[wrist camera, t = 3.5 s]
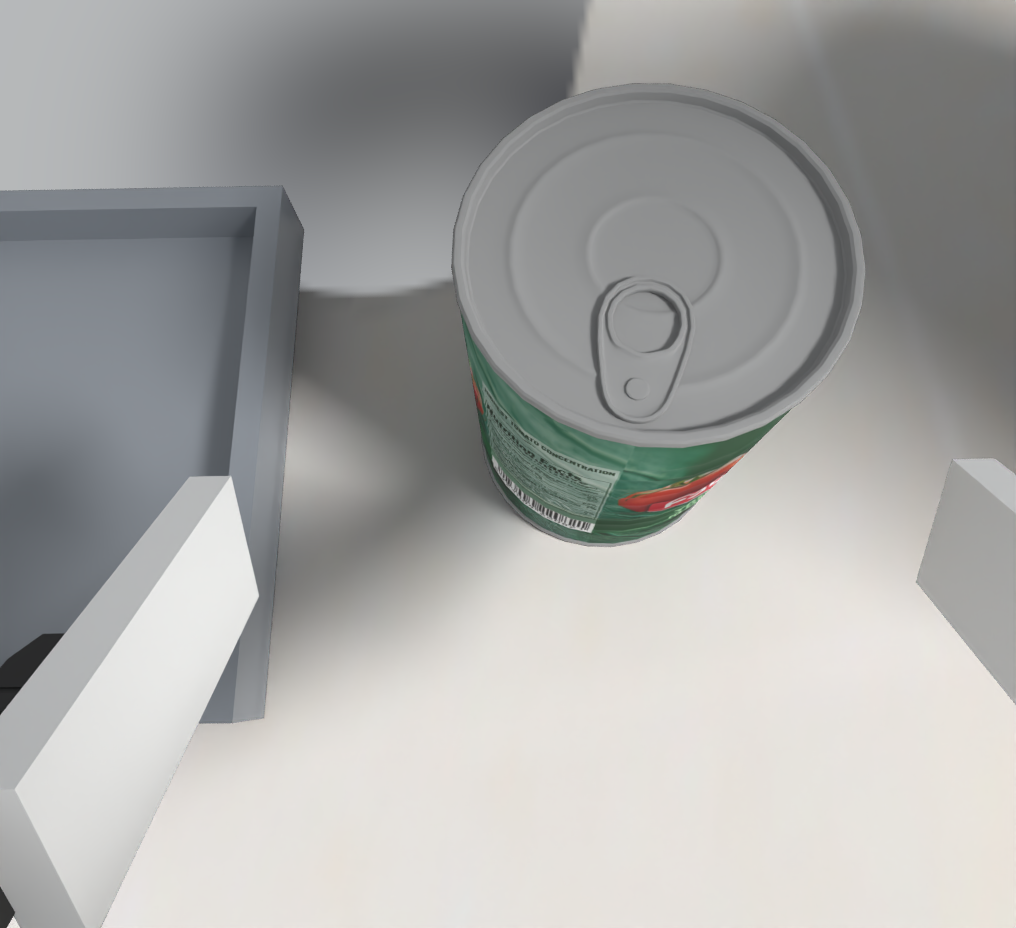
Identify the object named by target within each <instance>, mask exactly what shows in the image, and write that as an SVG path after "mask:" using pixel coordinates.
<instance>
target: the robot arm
mask: <svg viewBox="0 0 1016 928" xmlns="http://www.w3.org/2000/svg"><path fill="white" fill-rule="evenodd" d="M916 583H917V584H918V585H919V586H920V587H921V589H922V590H923V591H924V592H925V594H926V595H927V596H928V597H929V599H930V600H931V601H932V602H933V604H934V605H935V606H936V607H937V608H938V610H939V611H940V612H941V613H942V615H943V616H944V617H945V618H946V620H947V621H948V622H949V623H950V624H951V626H952V627H953V628H954V629H955V631H956V632H957V633H958V634H959V636H960V637H961V638H962V639H963V640H964V642H965V643H966V644H967V645H968V647H969V648H970V649H971V650H972V652H973V653H974V654H975V655H976V656H977V658H978V659H979V660H980V661H981V663H982V664H983V665H984V666H985V668H986V669H987V670H988V671H989V672H990V674H991V675H992V676H993V677H994V679H995V680H996V681H997V682H998V684H999V685H1000V686H1001V687H1002V688H1003V690H1004V691H1005V692H1006V693H1007V695H1008V696H1009V697H1010V698H1011V700H1012V701H1013V702H1014V703H1015V705H1016V474H1014V473H1013V472H1012V471H1010V470H1009V469H1008V468H1007V467H1005V466H1004V465H1003V464H1001V463H1000V462H999V461H998V460H996V459H995V458H984V459H952V462H951V465H950V468H949V472H948V475H947V479H946V482H945V485H944V489H943V492H942V495H941V499H940V502H939V506H938V509H937V512H936V516H935V519H934V523H933V526H932V529H931V533H930V536H929V539H928V543H927V546H926V550H925V553H924V556H923V560H922V563H921V566H920V570H919V573H918V577H917V580H916ZM258 597H259V593H258V589H257V585H256V580H255V576H254V572H253V567H252V563H251V559H250V554H249V550H248V546H247V542H246V537H245V533H244V529H243V524H242V520H241V516H240V512H239V507H238V503H237V499H236V494H235V490H234V486H233V481H232V477H231V476H198V477H189V478H188V479H187V480H186V482H185V483H184V484H183V486H182V487H181V488H180V489H179V491H178V492H177V493H176V494H175V496H174V497H173V498H172V499H171V501H170V502H169V503H168V504H167V506H166V507H165V508H164V509H163V511H162V512H161V513H160V515H159V516H158V517H157V518H156V520H155V521H154V522H153V523H152V525H151V526H150V527H149V528H148V530H147V531H146V532H145V533H144V535H143V536H142V537H141V538H140V540H139V541H138V542H137V544H136V545H135V546H134V547H133V549H132V550H131V551H130V552H129V554H128V555H127V556H126V557H125V559H124V560H123V561H122V562H121V564H120V565H119V566H118V567H117V569H116V570H115V571H114V572H113V574H112V575H111V576H110V578H109V579H108V580H107V581H106V583H105V584H104V585H103V586H102V588H101V589H100V590H99V591H98V593H97V594H96V595H95V596H94V598H93V599H92V600H91V601H90V603H89V604H88V605H87V607H86V608H85V609H84V610H83V612H82V613H81V614H80V615H79V617H78V618H77V619H76V620H75V622H74V623H73V624H72V625H71V627H70V628H69V629H68V630H67V632H66V633H55V634H42V635H40V636H39V637H38V638H36V639H35V640H33V641H32V642H31V643H29V644H28V645H26V646H25V647H23V648H22V649H21V650H19V651H18V652H16V653H15V654H14V655H12V656H11V657H9V658H8V659H7V660H6V661H5V662H4V664H3V665H2V666H1V667H0V928H7V926H8V924H9V923H10V921H11V919H12V918H13V916H14V918H15V919H16V921H17V923H18V924H19V926H20V928H101V926H102V924H103V922H104V920H105V918H106V916H107V914H108V912H109V910H110V907H111V905H112V903H113V901H114V899H115V897H116V895H117V893H118V891H119V889H120V886H121V884H122V882H123V880H124V878H125V876H126V874H127V872H128V870H129V868H130V866H131V863H132V861H133V859H134V857H135V855H136V853H137V851H138V849H139V847H140V845H141V842H142V840H143V838H144V836H145V834H146V832H147V830H148V828H149V826H150V824H151V821H152V819H153V817H154V815H155V813H156V811H157V809H158V807H159V805H160V803H161V801H162V798H163V796H164V794H165V792H166V790H167V788H168V786H169V784H170V782H171V780H172V777H173V775H174V773H175V771H176V769H177V767H178V765H179V763H180V761H181V759H182V756H183V754H184V752H185V750H186V748H187V746H188V744H189V742H190V740H191V738H192V736H193V733H194V731H195V729H196V727H197V725H198V723H199V721H200V719H201V717H202V715H203V712H204V710H205V708H206V706H207V704H208V702H209V700H210V698H211V696H212V694H213V691H214V689H215V687H216V685H217V683H218V681H219V679H220V677H221V675H222V673H223V671H224V668H225V666H226V664H227V662H228V660H229V658H230V656H231V654H232V652H233V650H234V647H235V645H236V643H237V641H238V639H239V637H240V635H241V633H242V631H243V629H244V626H245V624H246V622H247V620H248V618H249V616H250V614H251V612H252V610H253V608H254V606H255V603H256V601H257V599H258Z"/></svg>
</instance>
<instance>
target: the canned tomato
mask: <svg viewBox="0 0 1016 928" xmlns="http://www.w3.org/2000/svg"><path fill="white" fill-rule="evenodd" d="M451 268H452V274H453V280H454V286H455V292H456V298H457V303H458V306H459V308H460V311H461V317H462V323H463V329H464V335H465V341H466V346H467V352H468V358H469V364H470V370H471V376H472V381H473V387H474V393H475V399H476V405H477V411H478V417H479V422H480V428H481V439H482V445H483V451H484V457H485V461H486V464H487V466H488V469H489V472H490V474H491V477H492V479H493V482H494V483H495V485H496V486H497V488H498V489H499V491H500V492H501V494H502V495H503V497H504V499H505V500H506V501H507V502H508V503H509V505H510V506H511V507H512V508H513V509H514V510H515V511H516V512H517V513H518V514H519V515H520V516H521V517H522V518H523V519H525V520H526V521H528V522H529V523H531V524H532V525H534V526H535V527H536V528H538V529H539V530H541V531H542V532H545V533H547V534H549V535H552V536H554V537H556V538H558V539H561V540H563V541H566V542H571V543H575V544H580V545H584V546H597V547H614V546H620V545H626V544H632V543H637V542H639V541H642V540H644V539H647V538H650V537H652V536H655V535H657V534H659V533H661V532H663V531H664V530H666V529H667V528H669V527H670V526H672V525H673V524H675V523H677V522H678V521H679V520H680V519H681V518H682V517H683V516H684V515H685V514H686V513H687V512H688V511H689V510H690V509H691V508H692V507H693V506H694V505H695V504H696V503H697V501H698V500H699V499H700V498H701V497H702V496H703V495H704V494H705V493H706V492H707V491H708V490H709V489H710V488H711V487H712V486H714V485H715V484H716V483H717V482H718V481H719V480H720V479H721V478H722V477H723V476H724V475H725V474H726V473H727V472H728V471H729V470H730V469H731V468H732V467H733V466H734V465H735V464H736V463H737V462H738V461H739V460H740V459H741V458H742V457H743V456H744V455H745V454H746V453H747V452H748V451H749V450H750V449H751V448H752V447H753V446H754V445H755V444H756V443H757V442H758V441H759V440H760V439H761V438H762V437H763V436H764V435H765V434H766V433H767V432H769V431H770V430H771V429H772V428H773V427H774V426H775V425H776V424H777V423H778V422H779V421H780V420H781V419H782V418H783V417H784V416H785V415H786V414H787V413H788V412H789V411H790V410H791V409H792V408H793V407H795V406H796V405H798V404H799V403H801V402H802V401H803V400H804V399H805V398H806V397H807V396H808V395H809V394H810V393H811V392H812V391H813V390H814V389H815V388H816V387H817V386H818V385H819V384H820V383H821V382H822V381H823V380H824V379H825V378H826V377H827V376H828V375H829V373H830V371H831V370H832V368H833V367H834V365H835V363H836V362H837V360H838V359H839V357H840V356H841V354H842V352H843V351H844V349H845V348H846V346H847V344H848V343H849V341H850V339H851V336H852V333H853V330H854V327H855V325H856V322H857V319H858V316H859V313H860V310H861V307H862V301H863V291H864V281H865V271H866V270H865V262H864V254H863V246H862V238H861V233H860V230H859V227H858V225H857V222H856V219H855V216H854V213H853V211H852V208H851V205H850V202H849V200H848V198H847V197H846V195H845V193H844V192H843V190H842V189H841V187H840V185H839V184H838V182H837V180H836V179H835V177H834V175H833V174H832V172H831V170H830V169H829V168H828V167H827V166H826V165H825V164H824V163H823V161H822V160H821V159H820V158H819V157H818V156H817V155H816V154H815V153H814V152H813V150H812V149H811V148H810V147H809V146H808V145H807V144H806V143H805V142H804V141H803V140H802V139H800V138H799V137H798V136H796V135H795V134H794V133H792V132H791V131H790V130H789V129H787V128H786V127H785V126H783V125H782V124H781V123H779V122H778V121H777V120H776V119H774V118H772V117H770V116H768V115H766V114H764V113H762V112H760V111H759V110H757V109H755V108H753V107H751V106H749V105H747V104H745V103H743V102H741V101H738V100H735V99H732V98H729V97H726V96H723V95H720V94H717V93H714V92H711V91H708V90H704V89H698V88H692V87H686V86H680V85H674V84H640V83H632V84H626V85H619V86H613V87H606V88H600V89H595V90H591V91H588V92H585V93H582V94H579V95H576V96H573V97H570V98H567V99H564V100H561V101H559V102H557V103H556V104H553V105H552V106H550V107H548V108H546V109H544V110H542V111H540V112H539V113H537V114H535V115H533V116H531V117H529V118H528V119H527V120H525V121H524V122H523V123H522V124H520V125H519V126H518V127H517V128H515V129H514V130H513V131H512V132H510V133H509V134H508V135H507V136H505V137H504V138H503V139H502V140H501V141H500V142H499V143H498V144H497V146H496V147H495V148H494V149H493V150H492V151H491V153H490V154H489V155H488V156H487V157H486V159H485V160H484V161H483V162H482V163H481V164H480V166H479V168H478V170H477V171H476V173H475V175H474V177H473V179H472V180H471V182H470V184H469V186H468V188H467V190H466V192H465V193H464V195H463V198H462V202H461V205H460V208H459V212H458V216H457V219H456V222H455V226H454V231H453V248H452V266H451Z"/></svg>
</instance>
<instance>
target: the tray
mask: <svg viewBox="0 0 1016 928" xmlns="http://www.w3.org/2000/svg"><path fill="white" fill-rule="evenodd" d="M303 236H304V229H303V227H302V224H301V222H300V220H299V219H298V217H297V214H296V212H295V210H294V208H293V206H292V204H291V203H290V200H289V198H288V196H287V194H286V192H285V190H284V188H283V186H239V187H190V188H189V187H185V188H130V189H77V190H76V189H74V190H19V191H0V667H1V666H2V665H3V664H4V662H5V661H6V660H7V659H8V658H9V657H11V656H12V655H14V654H15V653H16V652H18V651H19V650H21V649H22V648H23V647H25V646H26V645H28V644H29V643H31V642H32V641H33V640H35V639H36V638H38V637H39V636H40V635H42V634H55V633H66V632H67V630H68V629H69V628H70V627H71V625H72V624H73V623H74V622H75V620H76V619H77V618H78V617H79V615H80V614H81V613H82V612H83V610H84V609H85V608H86V607H87V605H88V604H89V603H90V601H91V600H92V599H93V598H94V596H95V595H96V594H97V593H98V591H99V590H100V589H101V588H102V586H103V585H104V584H105V583H106V581H107V580H108V579H109V578H110V576H111V575H112V574H113V572H114V571H115V570H116V569H117V567H118V566H119V565H120V564H121V562H122V561H123V560H124V559H125V557H126V556H127V555H128V554H129V552H130V551H131V550H132V549H133V547H134V546H135V545H136V544H137V542H138V541H139V540H140V538H141V537H142V536H143V535H144V533H145V532H146V531H147V530H148V528H149V527H150V526H151V525H152V523H153V522H154V521H155V520H156V518H157V517H158V516H159V515H160V513H161V512H162V511H163V509H164V508H165V507H166V506H167V504H168V503H169V502H170V501H171V499H172V498H173V497H174V496H175V494H176V493H177V492H178V491H179V489H180V488H181V487H182V486H183V484H184V483H185V482H186V480H187V479H188V478H189V477H198V476H231V477H232V481H233V486H234V490H235V494H236V499H237V503H238V507H239V512H240V516H241V520H242V524H243V529H244V533H245V537H246V542H247V546H248V550H249V554H250V559H251V563H252V567H253V572H254V576H255V580H256V585H257V589H258V593H259V597H258V599H257V601H256V603H255V606H254V608H253V610H252V612H251V614H250V616H249V618H248V620H247V622H246V624H245V626H244V629H243V631H242V633H241V635H240V637H239V639H238V641H237V643H236V645H235V647H234V650H233V652H232V654H231V656H230V658H229V660H228V662H227V664H226V666H225V668H224V671H223V673H222V675H221V677H220V679H219V681H218V683H217V685H216V687H215V689H214V691H213V694H212V696H211V698H210V700H209V702H208V704H207V706H206V708H205V710H204V712H203V715H202V717H201V719H200V721H199V723H236V722H242V721H249V720H255V719H261V718H264V710H265V698H266V686H267V674H268V661H269V649H270V637H271V625H272V613H273V601H274V589H275V576H276V564H277V552H278V540H279V528H280V516H281V504H282V491H283V479H284V467H285V455H286V443H287V431H288V419H289V406H290V394H291V382H292V370H293V358H294V346H295V334H296V321H297V309H298V297H299V285H300V273H301V260H302V249H303Z"/></svg>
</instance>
